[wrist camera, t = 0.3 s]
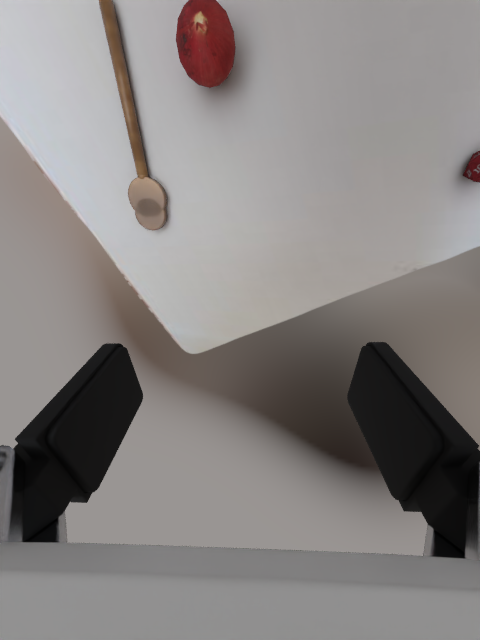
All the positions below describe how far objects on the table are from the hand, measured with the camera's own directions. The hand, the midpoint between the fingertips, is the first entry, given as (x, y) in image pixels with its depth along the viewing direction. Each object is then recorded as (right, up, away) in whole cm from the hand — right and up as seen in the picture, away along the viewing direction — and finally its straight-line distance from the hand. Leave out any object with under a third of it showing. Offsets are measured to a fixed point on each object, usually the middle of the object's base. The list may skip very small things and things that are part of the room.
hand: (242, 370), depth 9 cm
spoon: (-14, +26, +21) cm, 36 cm away
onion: (-3, +32, +17) cm, 36 cm away
